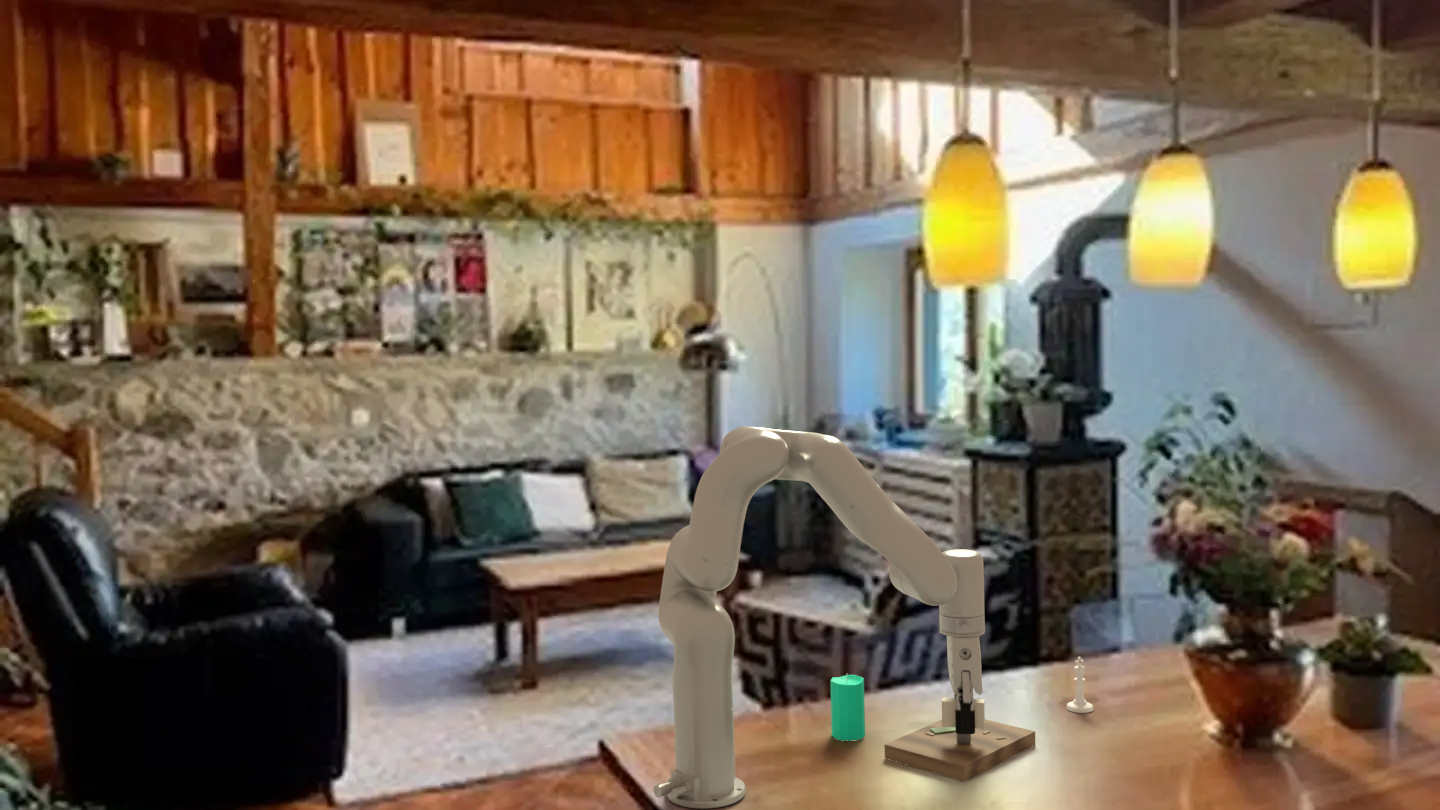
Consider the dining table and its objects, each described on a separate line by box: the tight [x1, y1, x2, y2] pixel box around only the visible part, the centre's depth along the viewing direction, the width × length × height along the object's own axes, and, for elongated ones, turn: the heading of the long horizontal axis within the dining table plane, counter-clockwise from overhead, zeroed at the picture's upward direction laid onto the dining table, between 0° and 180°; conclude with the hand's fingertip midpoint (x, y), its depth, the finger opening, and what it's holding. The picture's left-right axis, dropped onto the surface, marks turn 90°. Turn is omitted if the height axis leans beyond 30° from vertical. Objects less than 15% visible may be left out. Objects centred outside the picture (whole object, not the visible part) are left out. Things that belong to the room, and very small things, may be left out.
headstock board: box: [883, 719, 1036, 782], centre depth 210 cm, size 22×16×3 cm
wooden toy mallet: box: [941, 696, 986, 744], centre depth 211 cm, size 10×7×7 cm
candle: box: [830, 674, 866, 742], centre depth 220 cm, size 6×6×12 cm
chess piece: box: [1066, 656, 1094, 714], centre depth 231 cm, size 5×5×10 cm
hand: (964, 729), depth 207 cm, fingers closed on wooden toy mallet, 2 cm apart
